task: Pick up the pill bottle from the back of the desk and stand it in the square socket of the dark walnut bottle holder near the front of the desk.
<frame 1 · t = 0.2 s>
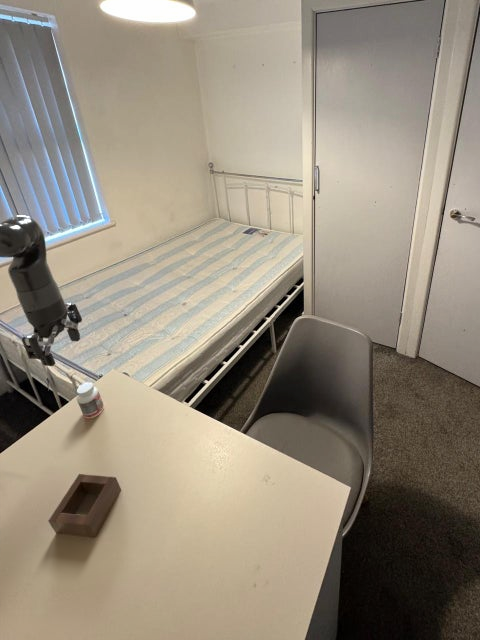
hand: (63, 352, 82), 26 cm above the table, tool pointing down, fingers open, 8 cm apart
pill bottle: (94, 411, 96), on the table
holder: (90, 510, 73), on the table
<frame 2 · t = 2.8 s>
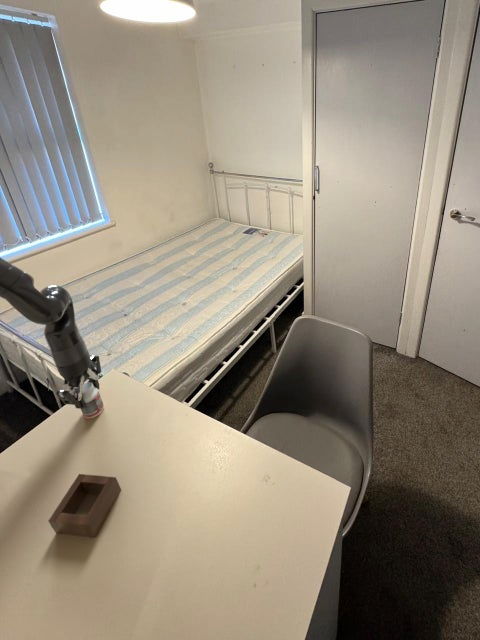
hand: (88, 398, 94), 5 cm above the table, tool pointing down, fingers closed on pill bottle, 5 cm apart
pill bottle: (94, 411, 96), on the table, touching gripper
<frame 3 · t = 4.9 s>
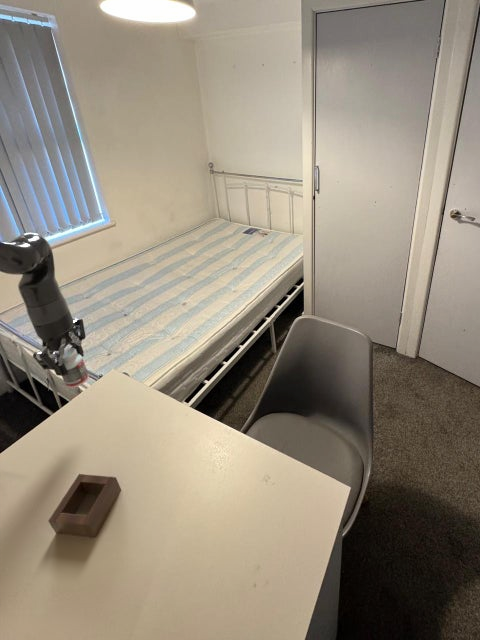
hand: (71, 365, 85), 21 cm above the table, tool pointing down, fingers closed on pill bottle, 5 cm apart
pill bottle: (78, 380, 87), point 16 cm above the table, touching gripper
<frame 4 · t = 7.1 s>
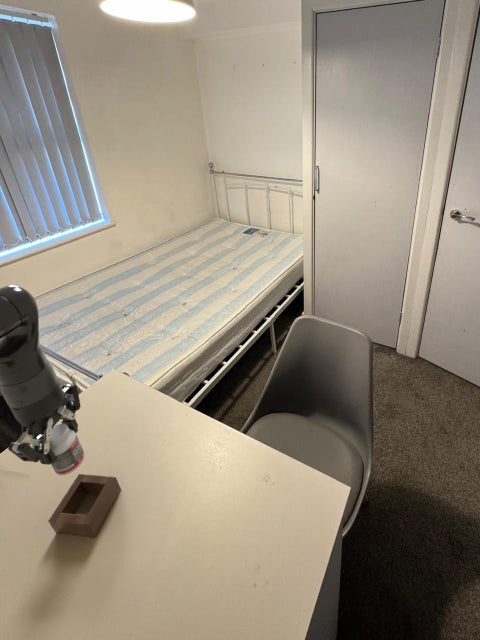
hand: (62, 446, 66), 21 cm above the table, tool pointing down, fingers closed on pill bottle, 5 cm apart
pill bottle: (70, 463, 68), point 15 cm above the table, touching gripper
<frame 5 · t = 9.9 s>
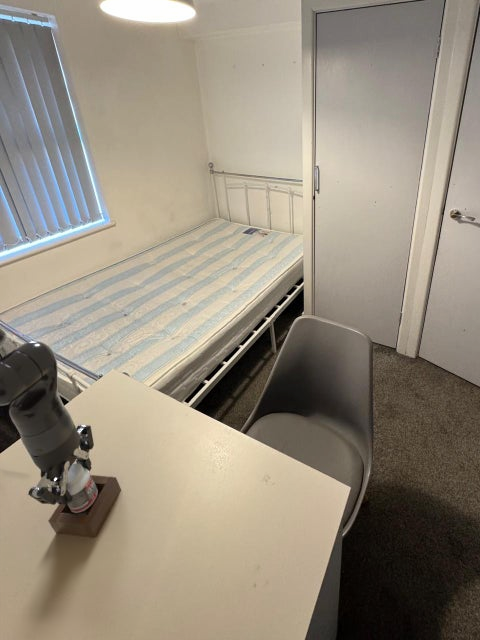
hand: (76, 485, 69), 10 cm above the table, tool pointing down, fingers closed on pill bottle, 5 cm apart
pill bottle: (84, 499, 71), point 4 cm above the table, touching gripper
when the fingers open (5 cm above the table, at t = 11.6 s): pill bottle stays where it is, resting in holder.
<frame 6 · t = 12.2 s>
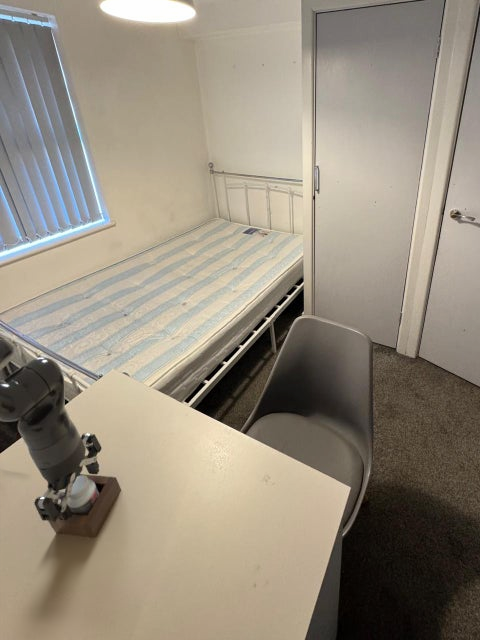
hand: (81, 493, 70), 7 cm above the table, tool pointing down, fingers open, 8 cm apart
pill bottle: (90, 510, 73), resting in holder
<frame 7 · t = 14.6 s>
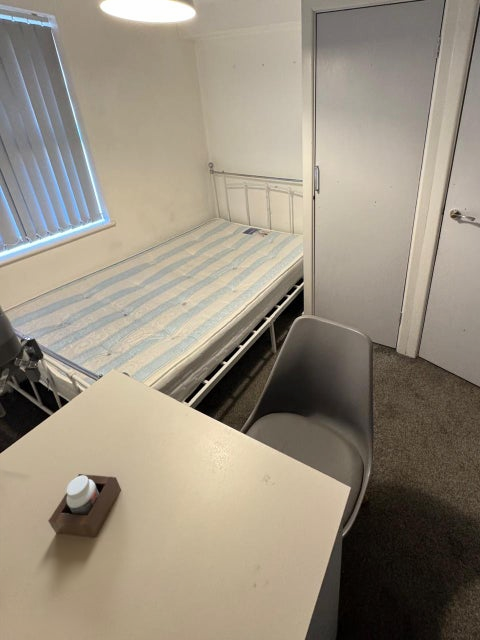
hand: (18, 397, 68), 28 cm above the table, tool pointing down, fingers open, 8 cm apart
nothing on the table moved.
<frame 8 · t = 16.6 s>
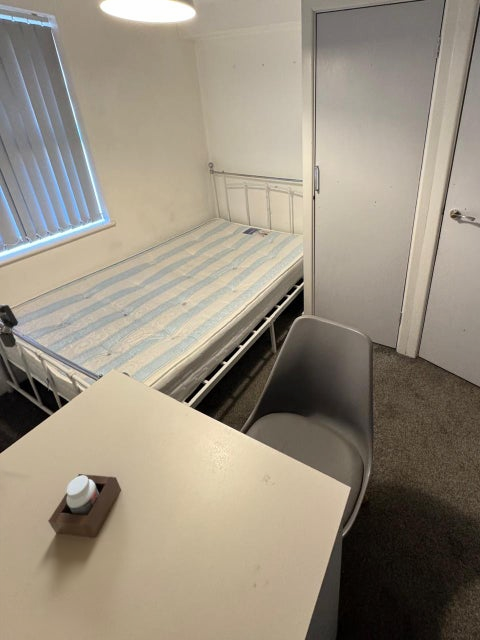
nothing on the table moved.
at the end: pill bottle 0.1 cm off-centre in the holder, point 0.0 cm above the holder's base; pill bottle tilted 0°; the gripper is holding nothing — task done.
